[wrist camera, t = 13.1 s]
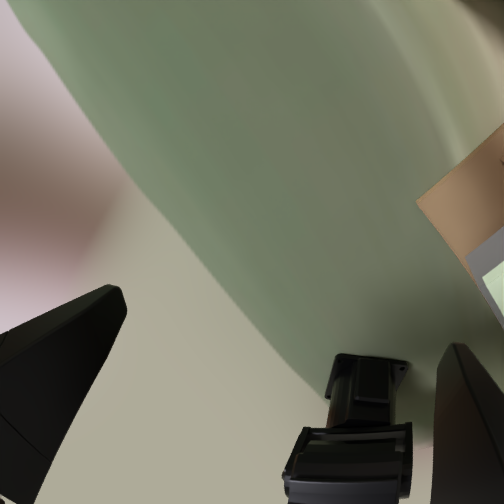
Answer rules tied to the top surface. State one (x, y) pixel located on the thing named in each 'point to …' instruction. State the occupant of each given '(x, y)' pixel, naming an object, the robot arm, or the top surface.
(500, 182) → the trapdoor frame
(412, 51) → the top surface
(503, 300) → the trapdoor
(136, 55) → the top surface
